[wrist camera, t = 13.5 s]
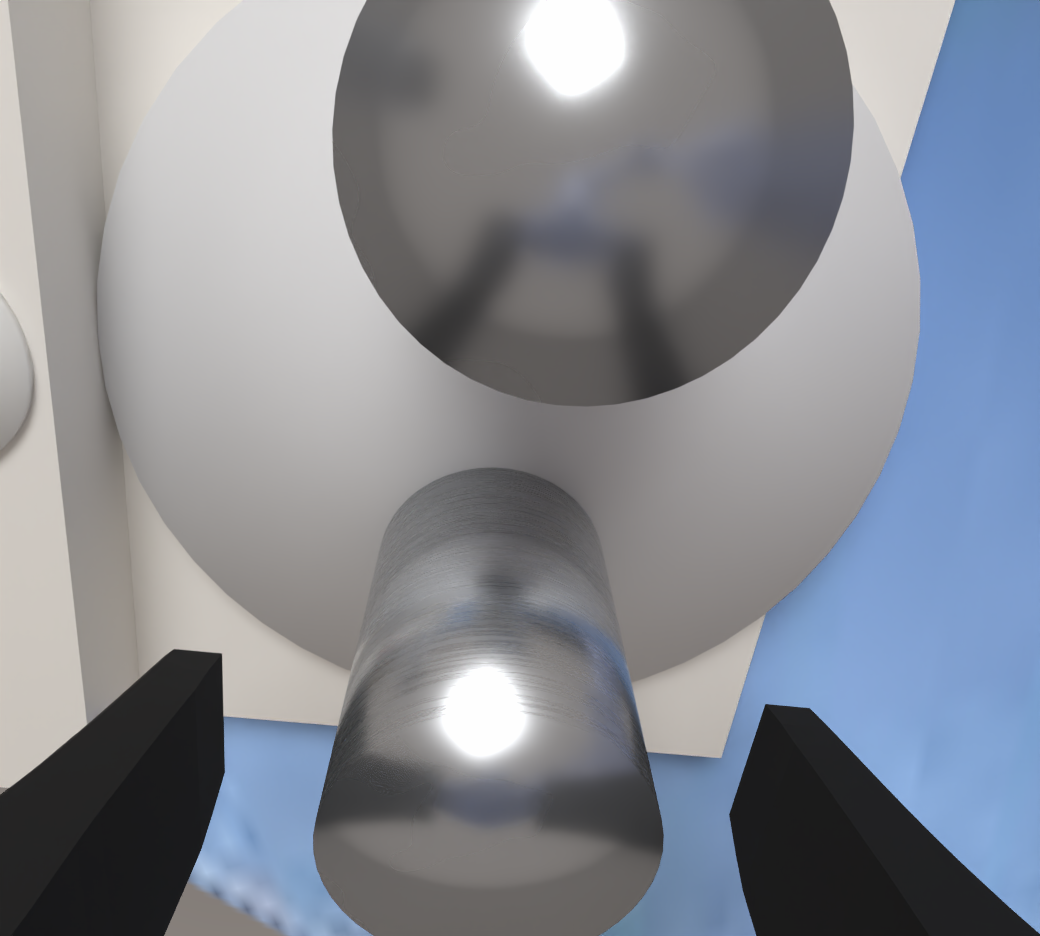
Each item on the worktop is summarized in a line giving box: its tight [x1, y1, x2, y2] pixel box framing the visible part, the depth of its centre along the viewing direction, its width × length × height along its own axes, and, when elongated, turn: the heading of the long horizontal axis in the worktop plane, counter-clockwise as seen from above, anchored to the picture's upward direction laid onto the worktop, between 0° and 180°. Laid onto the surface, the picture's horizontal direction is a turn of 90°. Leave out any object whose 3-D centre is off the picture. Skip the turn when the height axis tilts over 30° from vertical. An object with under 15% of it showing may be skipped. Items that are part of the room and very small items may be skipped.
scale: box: [0, 0, 955, 788], centre depth 13 cm, size 17×16×4 cm
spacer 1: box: [332, 0, 854, 407], centre depth 9 cm, size 4×4×6 cm
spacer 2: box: [313, 468, 664, 936], centre depth 12 cm, size 4×4×6 cm
